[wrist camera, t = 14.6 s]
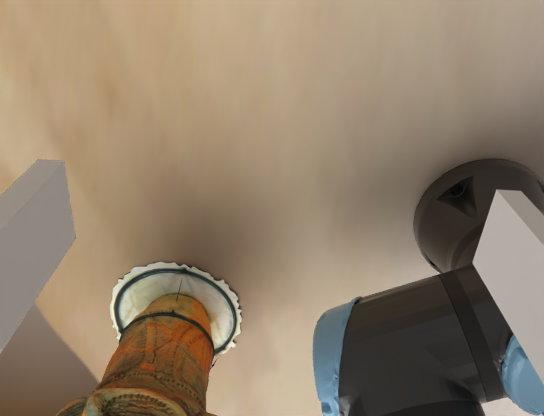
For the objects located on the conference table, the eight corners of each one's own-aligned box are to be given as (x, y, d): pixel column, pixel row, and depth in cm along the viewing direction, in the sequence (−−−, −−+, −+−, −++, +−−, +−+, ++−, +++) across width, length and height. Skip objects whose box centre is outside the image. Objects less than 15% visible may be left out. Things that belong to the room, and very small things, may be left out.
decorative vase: (289, 351, 68) (280, 588, 44) (141, 381, 73) (59, 608, 49) (234, 229, 58) (184, 446, 34) (69, 273, 63) (-78, 489, 39)
